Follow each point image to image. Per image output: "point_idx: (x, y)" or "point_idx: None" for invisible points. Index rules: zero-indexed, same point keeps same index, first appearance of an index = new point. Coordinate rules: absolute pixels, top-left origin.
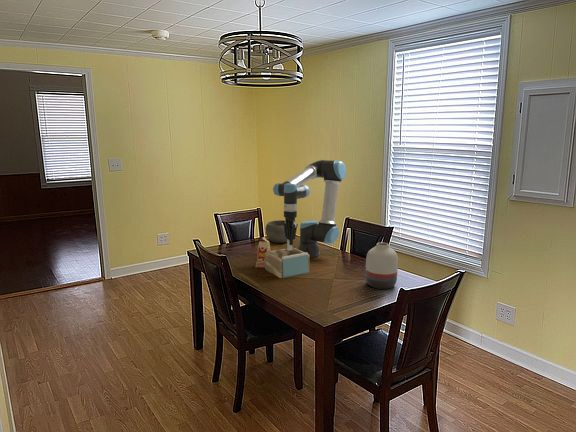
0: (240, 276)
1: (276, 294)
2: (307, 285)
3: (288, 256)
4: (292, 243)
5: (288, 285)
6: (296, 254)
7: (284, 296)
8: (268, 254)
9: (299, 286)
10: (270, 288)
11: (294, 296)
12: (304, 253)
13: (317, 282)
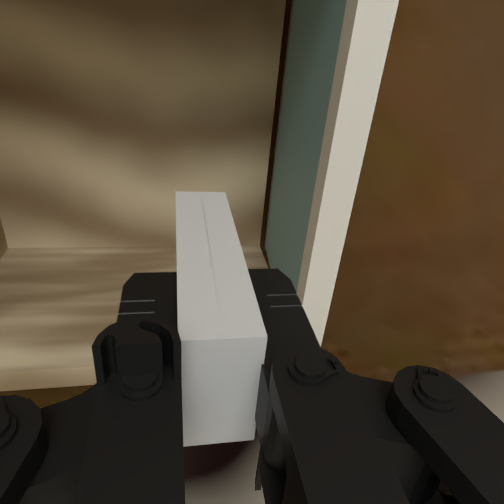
0: None
1: (412, 358)
2: (466, 149)
3: (329, 306)
4: (296, 299)
5: (368, 255)
6: (338, 175)
7: (459, 339)
8: (9, 384)
9: (434, 206)
10: (330, 352)
11: (500, 303)
12: (394, 11)
13: (494, 34)
